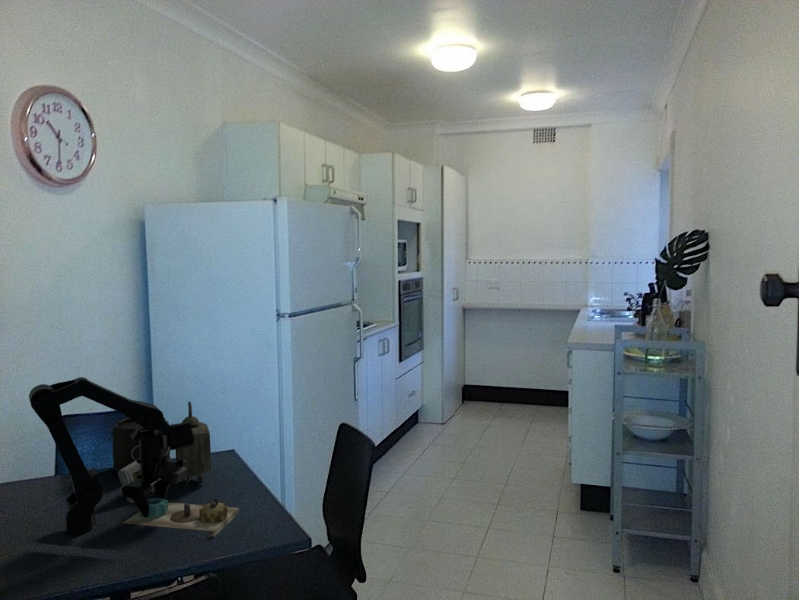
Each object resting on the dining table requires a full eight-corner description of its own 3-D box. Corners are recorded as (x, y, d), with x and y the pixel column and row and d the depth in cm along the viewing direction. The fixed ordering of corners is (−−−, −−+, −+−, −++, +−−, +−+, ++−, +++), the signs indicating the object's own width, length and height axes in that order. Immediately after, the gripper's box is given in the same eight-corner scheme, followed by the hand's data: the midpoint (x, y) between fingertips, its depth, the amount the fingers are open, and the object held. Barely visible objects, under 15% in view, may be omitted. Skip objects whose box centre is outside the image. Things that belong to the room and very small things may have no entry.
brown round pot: (185, 465, 208) (183, 418, 207) (137, 483, 193) (135, 432, 191) (148, 456, 217) (146, 411, 216) (100, 473, 202) (98, 424, 200)
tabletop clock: (176, 477, 198) (173, 397, 195) (206, 473, 201) (204, 395, 199) (179, 493, 184) (176, 409, 182) (212, 489, 188) (209, 405, 186)
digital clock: (132, 510, 173) (130, 472, 173) (108, 504, 177) (106, 467, 176) (176, 489, 188) (174, 454, 187) (153, 484, 192) (151, 450, 191)
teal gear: (158, 519, 164) (158, 508, 163) (134, 517, 165) (134, 506, 165) (173, 508, 170) (172, 497, 170) (149, 506, 172) (149, 496, 171)
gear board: (213, 536, 157) (213, 513, 157) (122, 528, 162) (121, 505, 161) (238, 513, 171) (238, 491, 170) (154, 506, 176) (153, 485, 175)
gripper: (159, 467, 156) (162, 529, 157) (198, 443, 174) (200, 499, 175) (118, 464, 158) (121, 525, 159) (160, 441, 176) (163, 496, 177)
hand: (154, 511), depth 168 cm, fingers closed on teal gear, 7 cm apart
